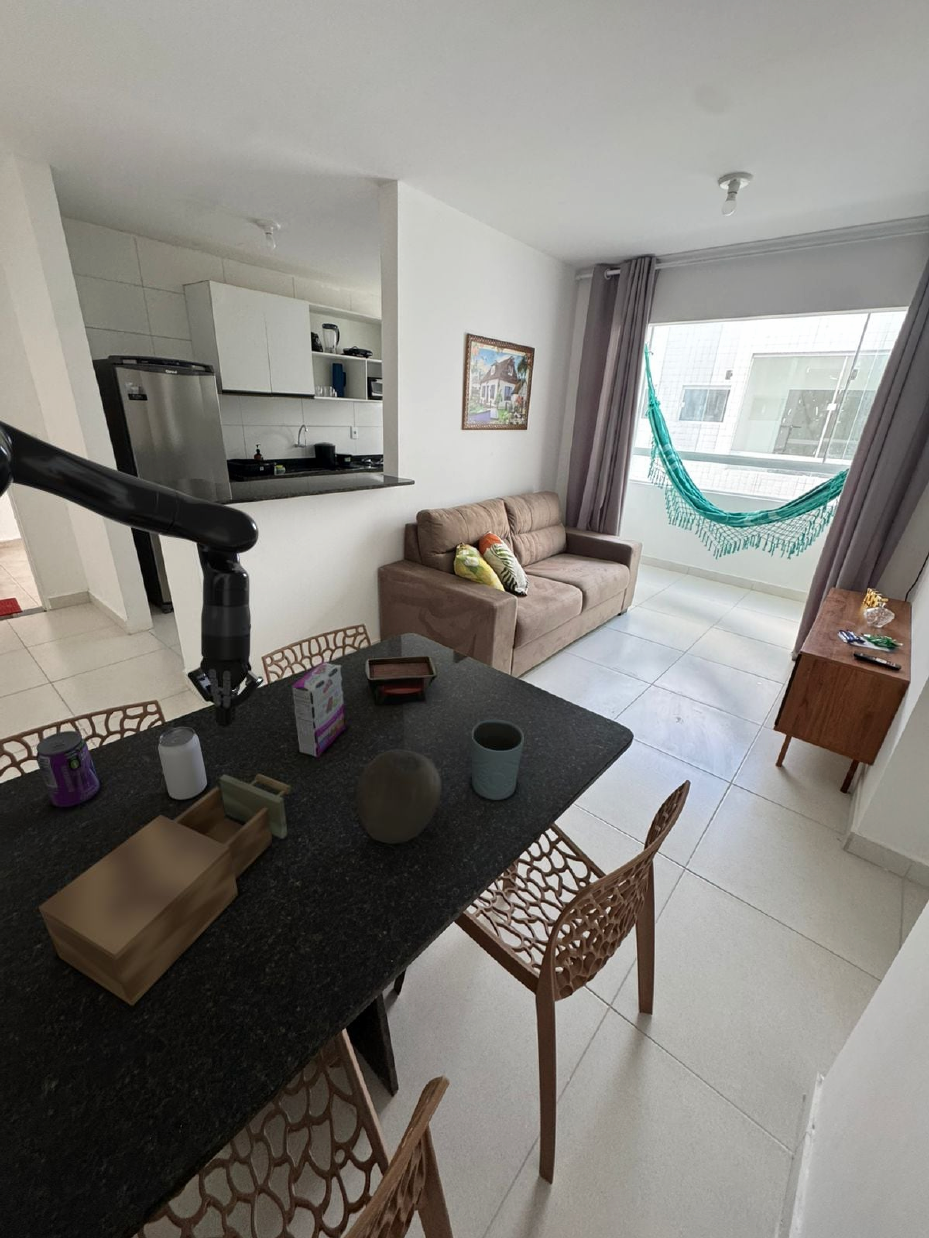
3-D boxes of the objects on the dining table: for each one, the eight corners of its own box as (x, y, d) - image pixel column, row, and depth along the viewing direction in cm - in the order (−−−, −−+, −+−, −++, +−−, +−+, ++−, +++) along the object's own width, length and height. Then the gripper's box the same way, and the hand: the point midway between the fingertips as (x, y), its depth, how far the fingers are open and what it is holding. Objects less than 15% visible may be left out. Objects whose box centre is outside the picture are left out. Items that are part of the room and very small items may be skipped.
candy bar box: (326, 723, 116) (322, 660, 110) (346, 728, 115) (342, 664, 108) (297, 752, 107) (290, 685, 100) (317, 758, 105) (312, 690, 99)
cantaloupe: (418, 873, 82) (420, 801, 76) (341, 845, 86) (337, 775, 80) (450, 812, 94) (454, 746, 88) (382, 790, 98) (381, 726, 92)
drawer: (251, 791, 95) (246, 757, 91) (306, 814, 90) (303, 779, 87) (150, 878, 77) (139, 839, 74) (212, 911, 73) (204, 872, 70)
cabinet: (172, 860, 81) (160, 814, 77) (238, 894, 77) (229, 847, 73) (59, 957, 67) (38, 906, 63) (132, 1006, 62) (114, 954, 58)
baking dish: (371, 682, 137) (364, 651, 132) (437, 673, 138) (433, 642, 133) (369, 717, 125) (361, 684, 120) (441, 706, 126) (436, 673, 121)
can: (209, 773, 100) (199, 722, 95) (205, 797, 94) (194, 744, 89) (172, 779, 98) (160, 728, 93) (165, 804, 92) (152, 750, 87)
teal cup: (496, 810, 95) (502, 759, 90) (456, 783, 101) (459, 733, 96) (528, 783, 102) (534, 734, 97) (489, 760, 108) (493, 712, 103)
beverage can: (101, 800, 92) (84, 746, 87) (51, 815, 88) (31, 760, 83) (99, 776, 97) (84, 724, 92) (53, 790, 94) (34, 737, 89)
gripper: (174, 628, 83) (175, 728, 86) (252, 638, 82) (250, 739, 85) (202, 620, 90) (202, 712, 93) (274, 629, 89) (271, 722, 92)
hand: (225, 725), depth 89 cm, fingers closed
